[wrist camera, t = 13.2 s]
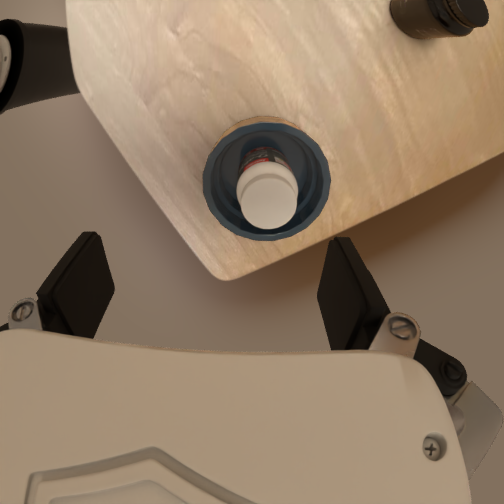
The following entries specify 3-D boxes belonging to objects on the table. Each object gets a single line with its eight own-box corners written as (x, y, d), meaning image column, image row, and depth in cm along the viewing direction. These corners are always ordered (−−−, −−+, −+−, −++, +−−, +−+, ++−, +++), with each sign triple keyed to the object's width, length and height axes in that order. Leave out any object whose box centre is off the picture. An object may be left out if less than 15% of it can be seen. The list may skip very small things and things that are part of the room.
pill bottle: (258, 135, 29) (262, 157, 21) (298, 164, 31) (318, 197, 23) (229, 175, 32) (221, 212, 23) (268, 201, 34) (275, 245, 25)
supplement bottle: (383, -11, 18) (436, -37, 8) (427, -2, 18) (487, -15, 8) (394, 36, 22) (454, 26, 12) (437, 43, 22) (501, 43, 12)
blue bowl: (211, 214, 35) (205, 239, 30) (210, 114, 28) (201, 120, 23) (310, 218, 36) (320, 242, 31) (322, 120, 29) (338, 128, 24)
